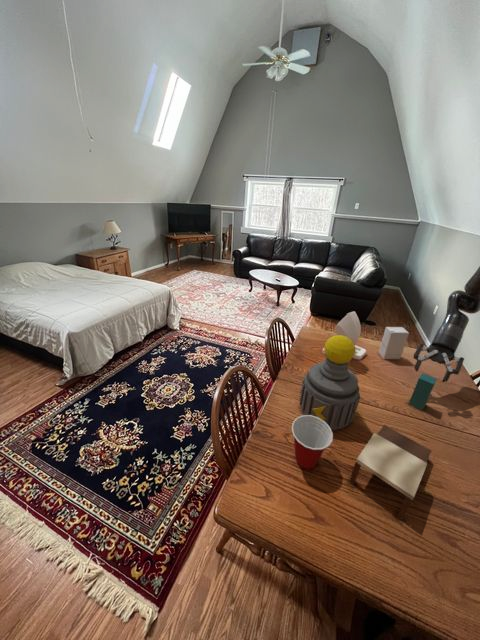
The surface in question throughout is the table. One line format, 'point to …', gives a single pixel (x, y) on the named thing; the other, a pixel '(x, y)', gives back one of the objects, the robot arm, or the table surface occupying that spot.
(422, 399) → the teal rectangular block
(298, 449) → the plastic cup
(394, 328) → the cosmetic box
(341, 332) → the jewelry stand
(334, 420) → the decorative lamp
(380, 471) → the cream miniature table
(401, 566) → the table surface
